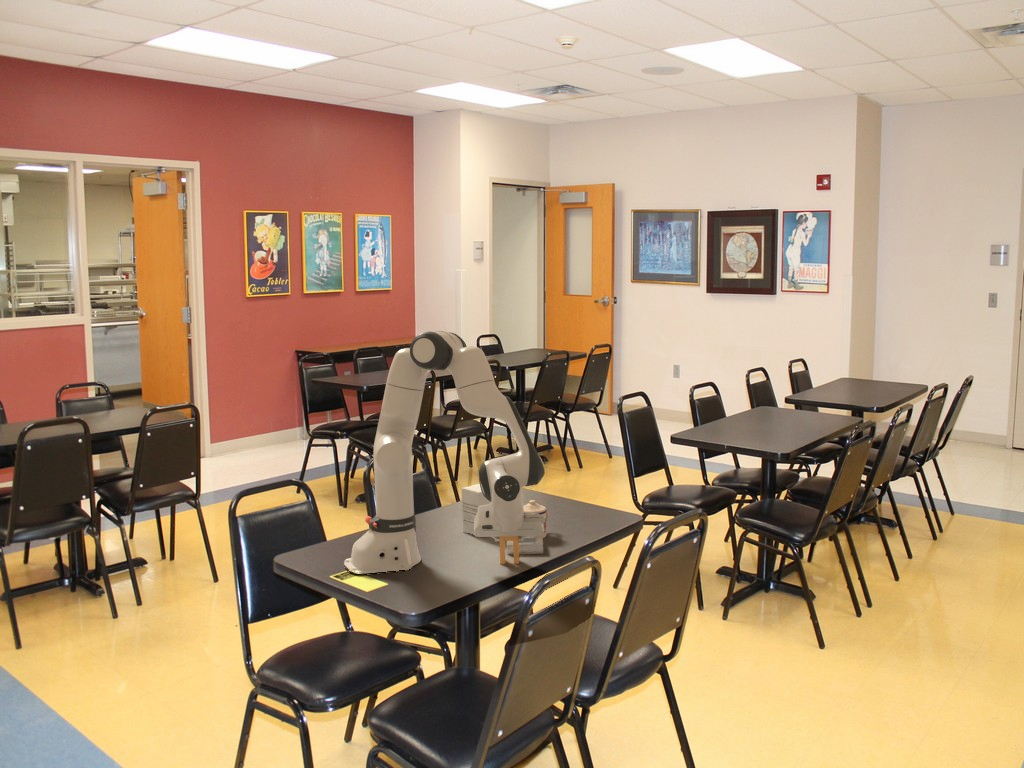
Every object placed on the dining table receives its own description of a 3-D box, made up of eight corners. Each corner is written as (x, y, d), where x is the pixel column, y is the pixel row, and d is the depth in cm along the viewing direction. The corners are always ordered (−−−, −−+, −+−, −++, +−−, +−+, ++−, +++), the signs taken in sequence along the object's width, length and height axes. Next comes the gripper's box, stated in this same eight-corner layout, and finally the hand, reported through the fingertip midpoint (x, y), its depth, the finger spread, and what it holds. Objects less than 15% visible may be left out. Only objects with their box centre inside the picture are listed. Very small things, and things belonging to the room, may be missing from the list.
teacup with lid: (534, 542, 278) (534, 506, 276) (513, 536, 284) (512, 501, 282) (558, 533, 287) (558, 498, 285) (537, 528, 293) (536, 493, 291)
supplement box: (482, 526, 296) (481, 482, 294) (500, 531, 290) (499, 486, 288) (461, 532, 290) (460, 487, 288) (480, 537, 284) (479, 492, 282)
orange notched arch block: (519, 560, 261) (518, 521, 259) (519, 563, 258) (518, 523, 256) (500, 560, 261) (499, 521, 259) (500, 564, 258) (499, 524, 256)
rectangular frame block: (543, 553, 266) (543, 544, 266) (506, 554, 266) (506, 544, 266) (542, 545, 274) (542, 536, 274) (507, 546, 274) (506, 536, 274)
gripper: (544, 505, 250) (544, 528, 261) (472, 506, 250) (475, 529, 261) (545, 525, 246) (544, 547, 257) (472, 526, 246) (474, 549, 257)
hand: (509, 538), depth 259 cm, fingers closed on orange notched arch block, 5 cm apart
